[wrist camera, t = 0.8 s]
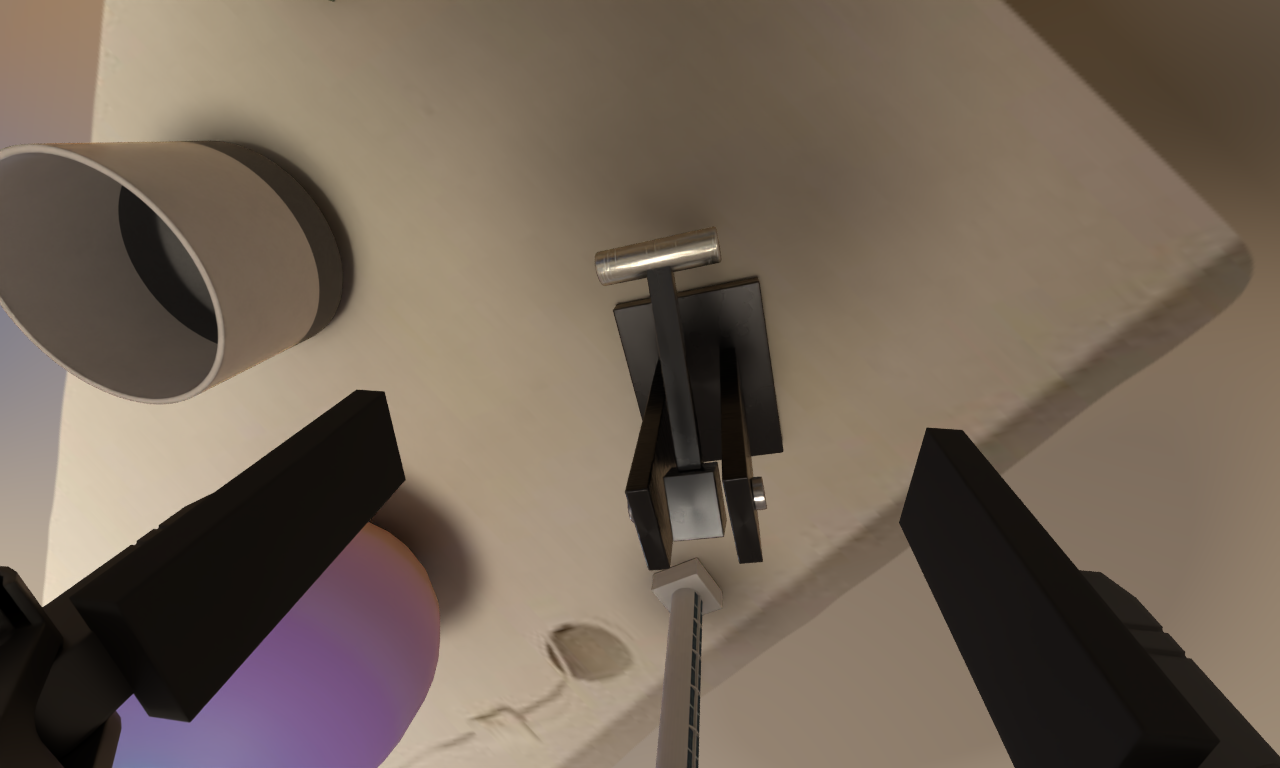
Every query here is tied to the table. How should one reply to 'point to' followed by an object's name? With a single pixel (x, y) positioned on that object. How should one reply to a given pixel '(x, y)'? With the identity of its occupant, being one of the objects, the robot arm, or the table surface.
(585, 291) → the table surface
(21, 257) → the planter
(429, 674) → the ball
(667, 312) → the lever
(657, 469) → the bracket
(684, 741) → the model tower
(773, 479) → the table surface
